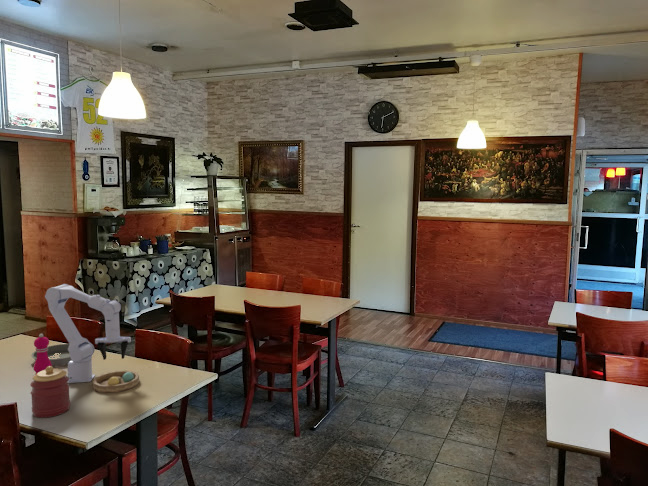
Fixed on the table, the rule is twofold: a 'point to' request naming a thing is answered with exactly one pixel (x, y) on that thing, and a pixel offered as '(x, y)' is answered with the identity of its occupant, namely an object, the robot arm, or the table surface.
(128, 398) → the table surface
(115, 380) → the bead ochre
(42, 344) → the pepper mill
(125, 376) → the bead teal
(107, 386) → the groove tray
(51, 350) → the cake pan
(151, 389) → the table surface
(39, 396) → the canister
